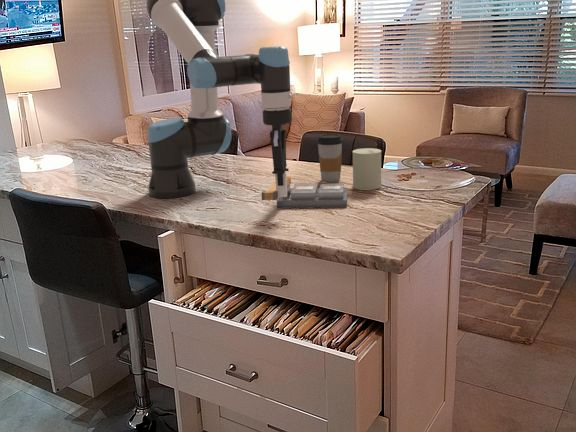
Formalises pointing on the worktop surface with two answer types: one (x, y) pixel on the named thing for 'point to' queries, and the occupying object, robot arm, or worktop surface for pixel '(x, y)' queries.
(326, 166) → the coffee cup
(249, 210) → the worktop surface
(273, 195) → the bar
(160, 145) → the robot arm
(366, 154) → the can
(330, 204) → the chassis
